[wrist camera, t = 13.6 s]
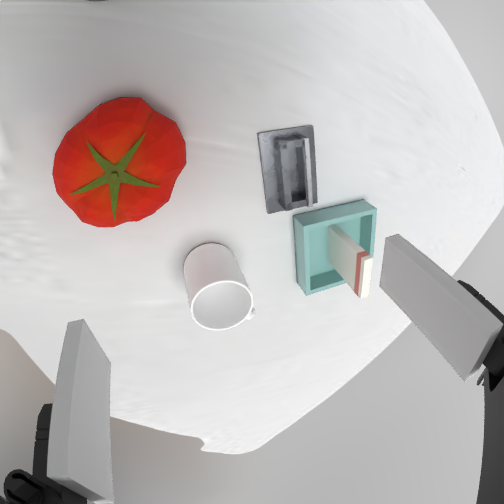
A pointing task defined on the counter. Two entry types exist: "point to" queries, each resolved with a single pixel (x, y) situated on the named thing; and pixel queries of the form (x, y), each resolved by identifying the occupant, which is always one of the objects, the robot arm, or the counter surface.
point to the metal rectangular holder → (288, 168)
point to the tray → (316, 241)
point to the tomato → (119, 163)
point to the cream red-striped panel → (349, 260)
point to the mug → (216, 288)
